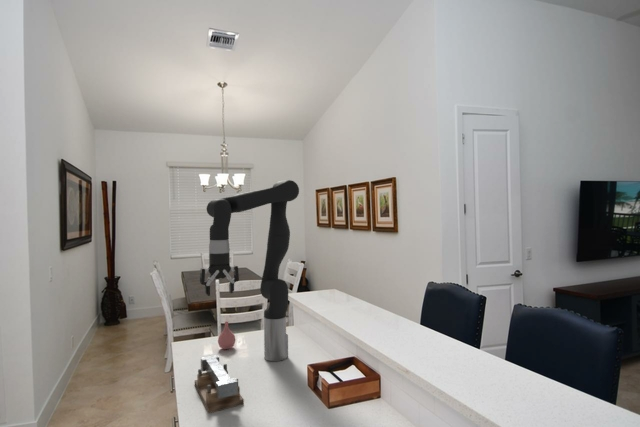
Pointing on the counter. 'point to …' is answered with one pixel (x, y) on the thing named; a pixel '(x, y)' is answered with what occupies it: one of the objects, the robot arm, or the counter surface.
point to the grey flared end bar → (219, 377)
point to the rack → (209, 393)
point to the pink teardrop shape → (226, 338)
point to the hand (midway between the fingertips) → (219, 294)
